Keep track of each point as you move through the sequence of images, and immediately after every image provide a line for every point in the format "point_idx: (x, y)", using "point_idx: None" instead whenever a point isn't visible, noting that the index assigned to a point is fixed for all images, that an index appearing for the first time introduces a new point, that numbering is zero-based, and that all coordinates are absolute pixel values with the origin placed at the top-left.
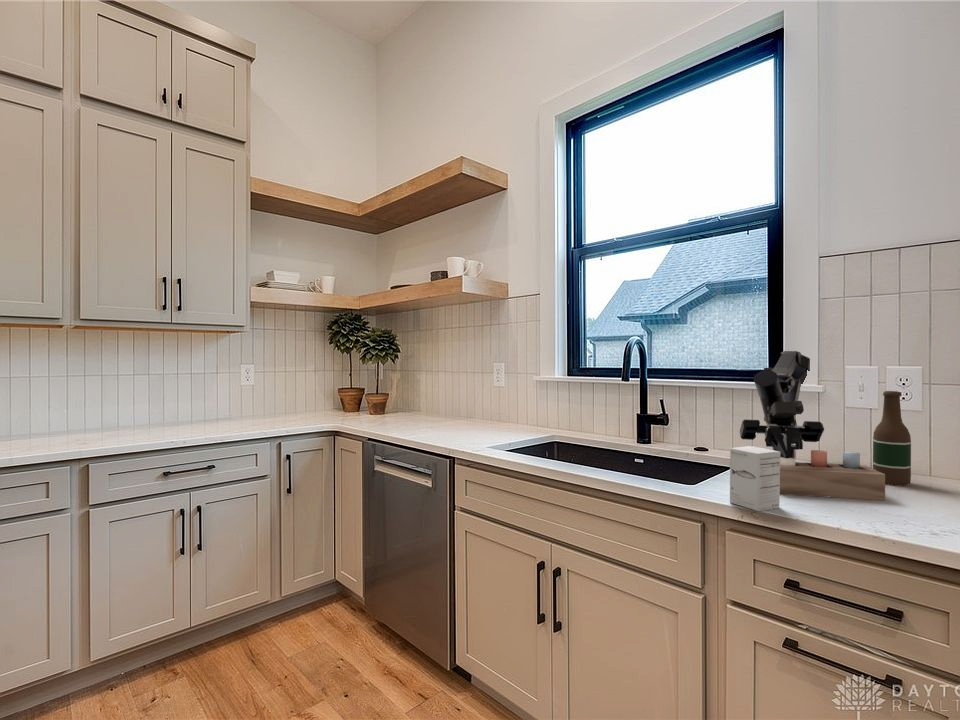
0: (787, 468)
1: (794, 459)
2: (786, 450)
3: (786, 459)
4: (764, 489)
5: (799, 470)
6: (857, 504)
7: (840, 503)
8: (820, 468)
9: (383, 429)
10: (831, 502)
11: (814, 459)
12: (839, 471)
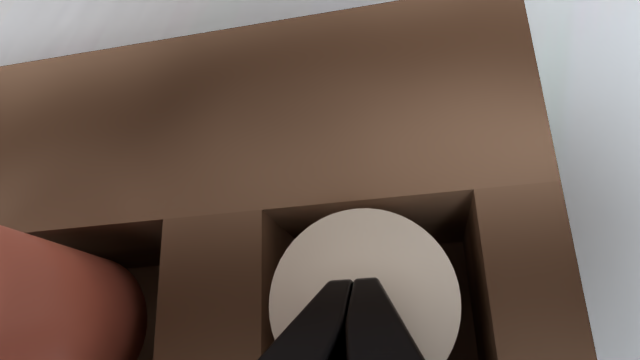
0: (425, 43)
1: (291, 243)
2: (351, 320)
3: (391, 213)
4: None
5: (331, 15)
6: (122, 38)
7: (196, 24)
8: (118, 157)
9: None
10: (233, 25)
11: (74, 261)
12: (26, 83)
